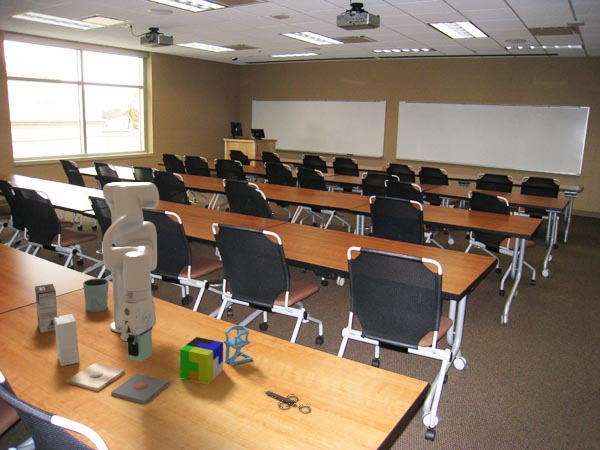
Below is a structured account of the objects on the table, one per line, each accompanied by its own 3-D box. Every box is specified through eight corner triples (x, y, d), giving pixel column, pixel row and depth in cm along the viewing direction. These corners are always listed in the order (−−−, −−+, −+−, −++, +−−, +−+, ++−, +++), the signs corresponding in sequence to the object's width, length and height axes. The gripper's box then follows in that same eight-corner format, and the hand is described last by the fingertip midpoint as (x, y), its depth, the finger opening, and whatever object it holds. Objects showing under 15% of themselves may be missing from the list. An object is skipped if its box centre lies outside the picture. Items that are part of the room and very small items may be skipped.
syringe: (267, 386, 153) (267, 381, 152) (316, 406, 143) (316, 401, 143) (252, 397, 146) (252, 392, 146) (301, 419, 137) (301, 413, 136)
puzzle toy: (223, 370, 161) (223, 342, 159) (207, 384, 152) (207, 355, 150) (196, 364, 164) (196, 336, 162) (180, 378, 155) (179, 349, 153)
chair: (220, 360, 168) (220, 328, 165) (238, 352, 174) (239, 321, 171) (234, 368, 162) (234, 335, 160) (253, 359, 168) (253, 327, 166)
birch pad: (95, 365, 161) (94, 362, 160) (124, 372, 157) (124, 369, 157) (66, 382, 150) (66, 379, 149) (97, 391, 146) (97, 387, 145)
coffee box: (37, 324, 190) (34, 285, 187) (55, 321, 194) (52, 283, 191) (40, 333, 183) (37, 293, 180) (59, 329, 187) (56, 290, 183)
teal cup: (92, 303, 214) (91, 277, 212) (114, 305, 213) (113, 279, 210) (79, 311, 204) (77, 284, 202) (102, 313, 203) (100, 286, 201)
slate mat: (137, 376, 155) (137, 372, 155) (169, 383, 151) (169, 380, 151) (111, 394, 144) (111, 391, 144) (144, 403, 140) (144, 400, 140)
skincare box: (79, 362, 162) (77, 321, 159) (60, 367, 159) (57, 324, 156) (75, 352, 169) (73, 312, 166) (56, 356, 166) (53, 315, 163)
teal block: (138, 351, 148) (137, 327, 147) (152, 354, 147) (151, 330, 145) (127, 358, 144) (126, 333, 142) (141, 361, 142) (140, 336, 141)
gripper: (128, 305, 132) (131, 366, 136) (166, 286, 148) (167, 342, 152) (106, 300, 135) (109, 361, 138) (145, 283, 150) (147, 338, 154)
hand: (139, 350), depth 145 cm, fingers closed on teal block, 5 cm apart
